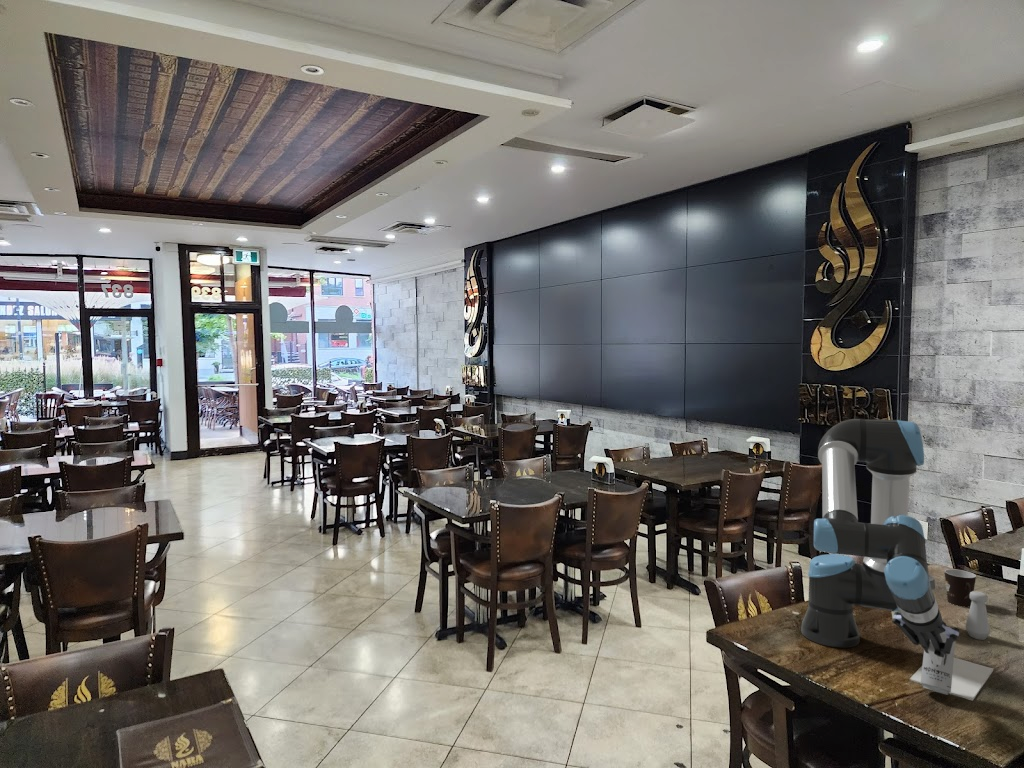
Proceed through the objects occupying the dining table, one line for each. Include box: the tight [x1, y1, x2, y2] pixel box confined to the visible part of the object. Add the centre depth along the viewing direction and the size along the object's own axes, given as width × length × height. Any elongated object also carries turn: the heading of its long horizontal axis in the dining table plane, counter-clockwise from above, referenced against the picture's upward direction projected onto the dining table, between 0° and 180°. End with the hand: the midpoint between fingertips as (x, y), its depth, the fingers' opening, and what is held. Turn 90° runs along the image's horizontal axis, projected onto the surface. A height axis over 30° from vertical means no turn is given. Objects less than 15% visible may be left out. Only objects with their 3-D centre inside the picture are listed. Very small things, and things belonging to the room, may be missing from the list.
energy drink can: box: [921, 632, 956, 696], centre depth 153 cm, size 6×6×15 cm
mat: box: [909, 656, 994, 701], centre depth 161 cm, size 22×13×1 cm, turn 132°
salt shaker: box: [965, 590, 991, 641], centre depth 183 cm, size 6×6×13 cm
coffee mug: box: [944, 568, 977, 608], centre depth 208 cm, size 12×9×10 cm
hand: (938, 659), depth 150 cm, fingers closed
